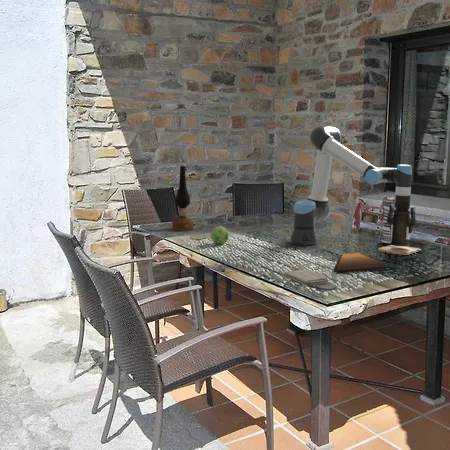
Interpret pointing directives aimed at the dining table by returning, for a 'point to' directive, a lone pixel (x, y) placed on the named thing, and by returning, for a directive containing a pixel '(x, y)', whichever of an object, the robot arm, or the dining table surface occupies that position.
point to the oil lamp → (182, 206)
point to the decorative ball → (219, 235)
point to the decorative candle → (386, 226)
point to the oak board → (399, 250)
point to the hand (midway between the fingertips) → (400, 237)
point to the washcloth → (306, 277)
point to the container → (400, 228)
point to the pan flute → (357, 263)
